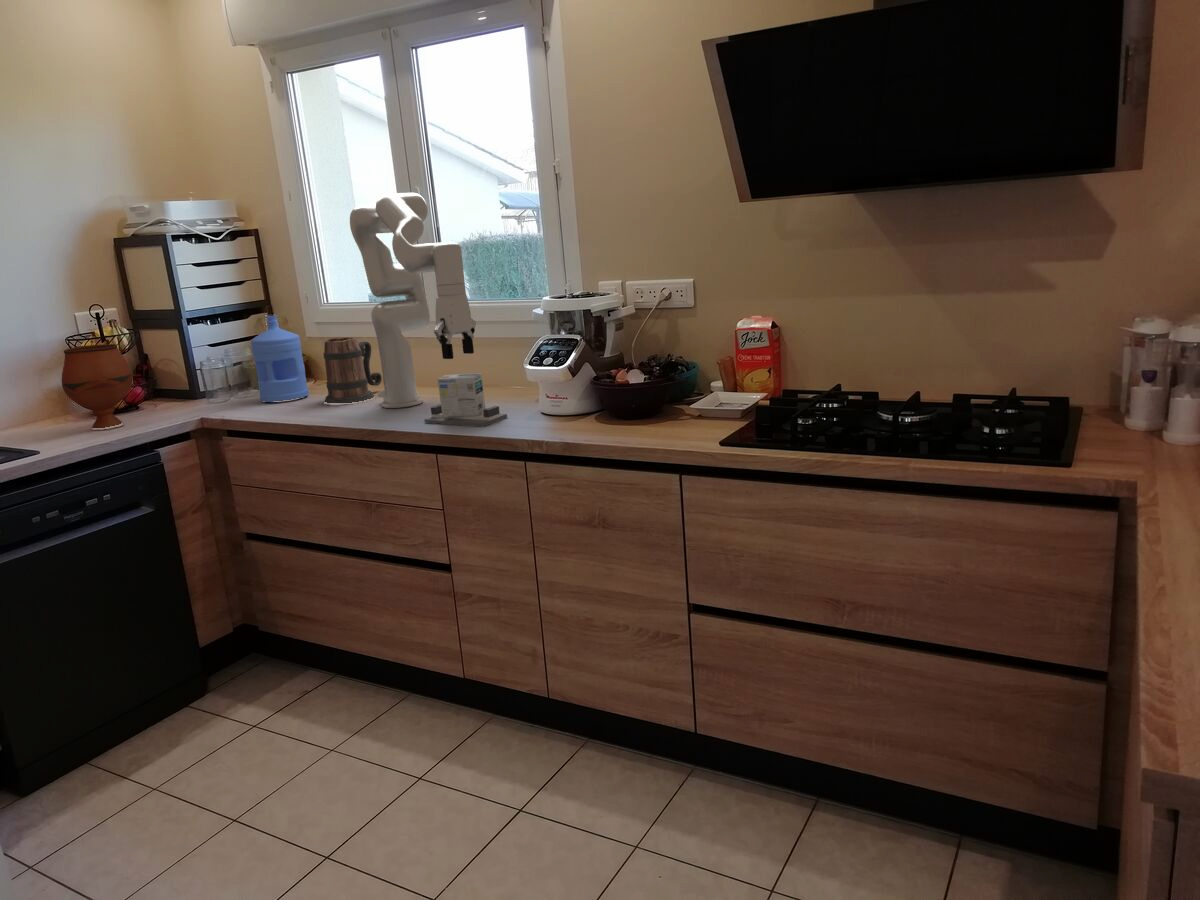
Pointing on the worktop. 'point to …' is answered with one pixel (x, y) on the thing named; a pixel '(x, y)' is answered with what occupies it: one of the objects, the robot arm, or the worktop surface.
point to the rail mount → (466, 417)
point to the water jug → (279, 364)
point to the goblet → (97, 380)
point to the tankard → (348, 370)
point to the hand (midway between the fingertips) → (458, 355)
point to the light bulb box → (461, 395)
